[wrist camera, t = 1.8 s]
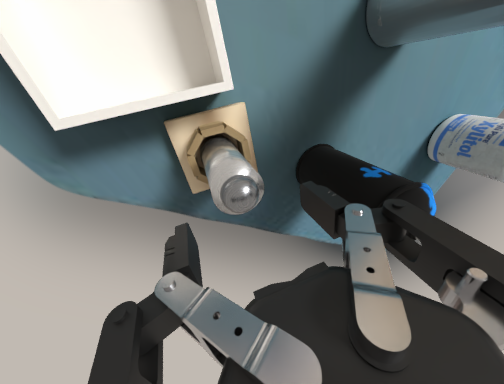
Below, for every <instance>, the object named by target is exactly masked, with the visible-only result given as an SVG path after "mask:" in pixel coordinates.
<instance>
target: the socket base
mask: <svg viewBox="0 0 504 384" xmlns="http://www.w3.org/2000/svg"><path fill="white" fill-rule="evenodd" d="M164 124H165V127H166V129H167V132H168V134H169V137H170V139H171V142H172V144H173V146H174V149H175V151H176V154H177V156H178V159H179V161H180V164H181V166H182V168H183V171H184V173H185V176H186V178H187V181H188V183H189V186H190V188H191V190H192V193H193V194H195V193H198V192H201V191H204V190H208V189H210V187H209V183H208V179H207V176H206V172H205V168H204V166H203V164H202V161H201V157H200V152H199V149H200V145H201V143H202V141H203V140H204V139H205V138H206V137H208V136H212V135H215V134H221V135H224V136H226V137H227V138H229V139H230V141H231V142H232V143H233V144H234V145H235V147H236V148H237V150H238V151H239V152H240V153H241V154H242V155H243V157H244V158H245V159H246V160H247V161H248V162H249V163H250V165H251V166H252V167H253V168H254V169H255V170H256V171H257V173H258V170H257V165H256V159H255V154H254V149H253V144H252V138H251V133H250V128H249V122H248V117H247V112H246V107H245V103H244V102H239V103H235V104H231V105H227V106H223V107H219V108H215V109H211V110H207V111H203V112H199V113H195V114H191V115H187V116H183V117H179V118H175V119H171V120H166V121H165V122H164Z"/></svg>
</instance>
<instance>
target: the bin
mask: <svg viewBox="0 0 504 384" xmlns="http://www.w3.org/2000/svg"><path fill="white" fill-rule="evenodd" d="M0 54H1V55H2V56H3V58H4V59H5V61H6V62H7V64H8V65H9V66H10V68H11V69H12V71H13V72H14V73H15V75H16V76H17V78H18V79H19V81H20V82H21V83H22V85H23V86H24V88H25V89H26V90H27V92H28V93H29V95H30V96H31V98H32V99H33V100H34V102H35V103H36V105H37V106H38V107H39V109H40V110H41V112H42V113H43V115H44V116H45V117H46V119H47V120H48V122H49V123H50V124H51V126H52V127H53V129H54V130H55V131H57V130H61V129H65V128H70V127H74V126H78V125H82V124H87V123H91V122H95V121H99V120H104V119H108V118H112V117H117V116H121V115H125V114H129V113H134V112H138V111H142V110H147V109H151V108H155V107H159V106H164V105H168V104H172V103H177V102H181V101H185V100H189V99H194V98H198V97H202V96H206V95H211V94H215V93H219V92H224V91H228V90H232V89H234V88H233V83H232V78H231V73H230V68H229V64H228V59H227V54H226V49H225V45H224V40H223V35H222V30H221V26H220V21H219V16H218V11H217V6H216V2H215V0H0Z"/></svg>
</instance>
